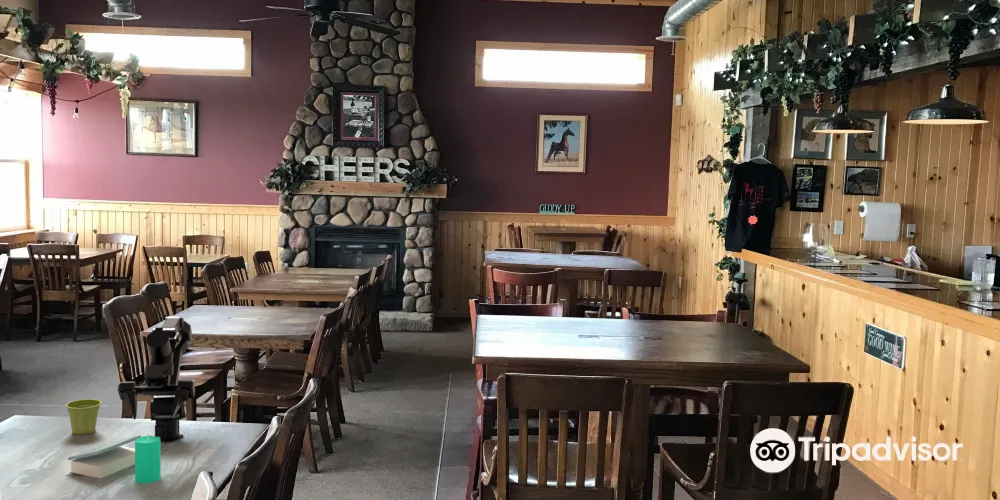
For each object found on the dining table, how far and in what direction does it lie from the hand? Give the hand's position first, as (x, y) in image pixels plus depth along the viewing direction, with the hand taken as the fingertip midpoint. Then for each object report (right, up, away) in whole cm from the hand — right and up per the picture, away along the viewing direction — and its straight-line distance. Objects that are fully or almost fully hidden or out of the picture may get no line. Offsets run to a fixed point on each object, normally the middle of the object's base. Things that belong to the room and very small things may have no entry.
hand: (153, 418), depth 204 cm
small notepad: (-13, -13, +1) cm, 18 cm away
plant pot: (-33, -10, +27) cm, 44 cm away
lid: (-13, -8, +1) cm, 15 cm away
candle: (+1, -14, -6) cm, 16 cm away
